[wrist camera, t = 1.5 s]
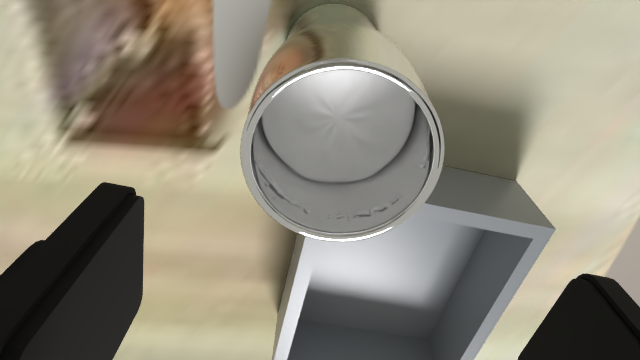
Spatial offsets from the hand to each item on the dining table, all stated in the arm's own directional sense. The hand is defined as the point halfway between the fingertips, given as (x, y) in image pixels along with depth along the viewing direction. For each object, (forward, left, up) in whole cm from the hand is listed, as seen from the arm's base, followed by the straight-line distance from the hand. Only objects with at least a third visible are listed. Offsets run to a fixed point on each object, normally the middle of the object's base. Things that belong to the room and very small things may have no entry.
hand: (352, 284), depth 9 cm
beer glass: (0, 0, -20) cm, 20 cm away
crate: (+15, +8, -20) cm, 26 cm away
